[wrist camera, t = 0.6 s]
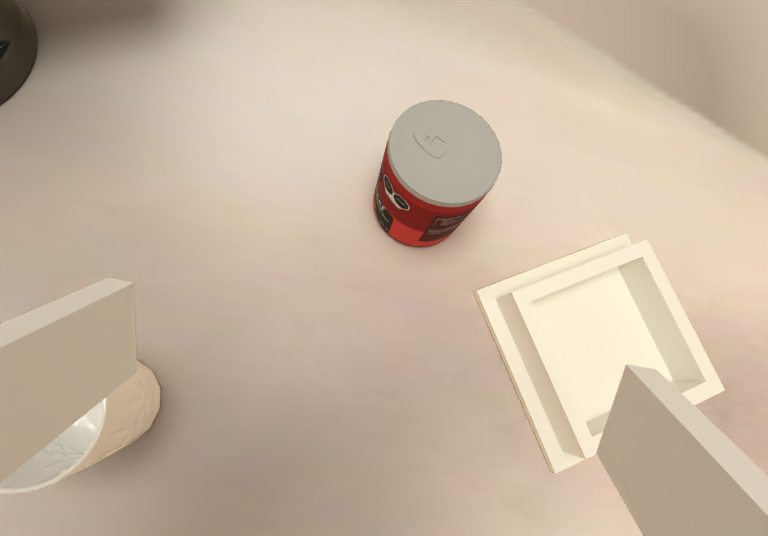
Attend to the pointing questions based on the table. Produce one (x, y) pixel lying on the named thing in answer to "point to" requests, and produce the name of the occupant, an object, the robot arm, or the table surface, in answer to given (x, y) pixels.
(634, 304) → the white square tray
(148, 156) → the table surface
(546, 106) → the table surface
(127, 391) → the white cup
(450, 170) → the canned food
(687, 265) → the table surface
